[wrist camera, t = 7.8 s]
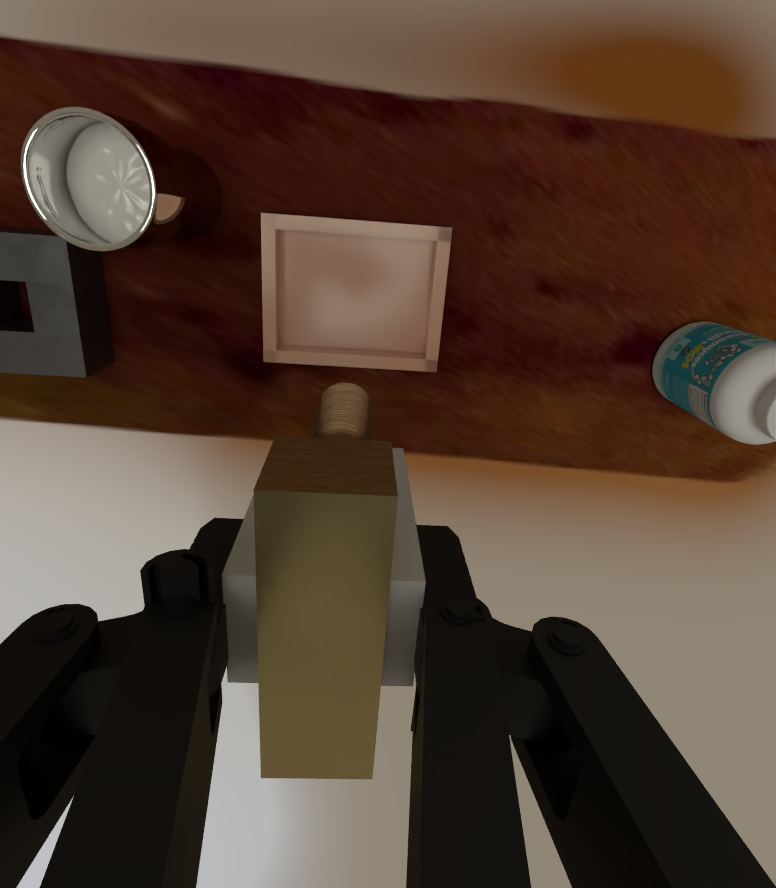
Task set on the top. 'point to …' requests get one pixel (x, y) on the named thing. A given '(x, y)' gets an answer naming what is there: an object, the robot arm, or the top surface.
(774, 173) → the top surface
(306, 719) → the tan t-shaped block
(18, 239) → the grey square block
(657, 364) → the pill bottle
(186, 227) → the beer glass
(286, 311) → the pale pink tray
